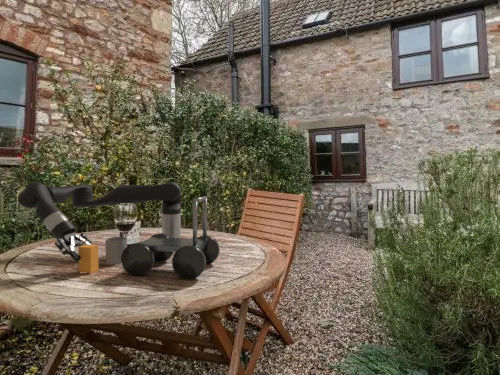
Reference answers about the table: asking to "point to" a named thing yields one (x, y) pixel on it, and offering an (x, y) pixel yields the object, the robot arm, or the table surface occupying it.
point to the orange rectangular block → (88, 258)
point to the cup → (115, 249)
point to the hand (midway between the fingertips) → (86, 257)
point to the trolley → (186, 251)
